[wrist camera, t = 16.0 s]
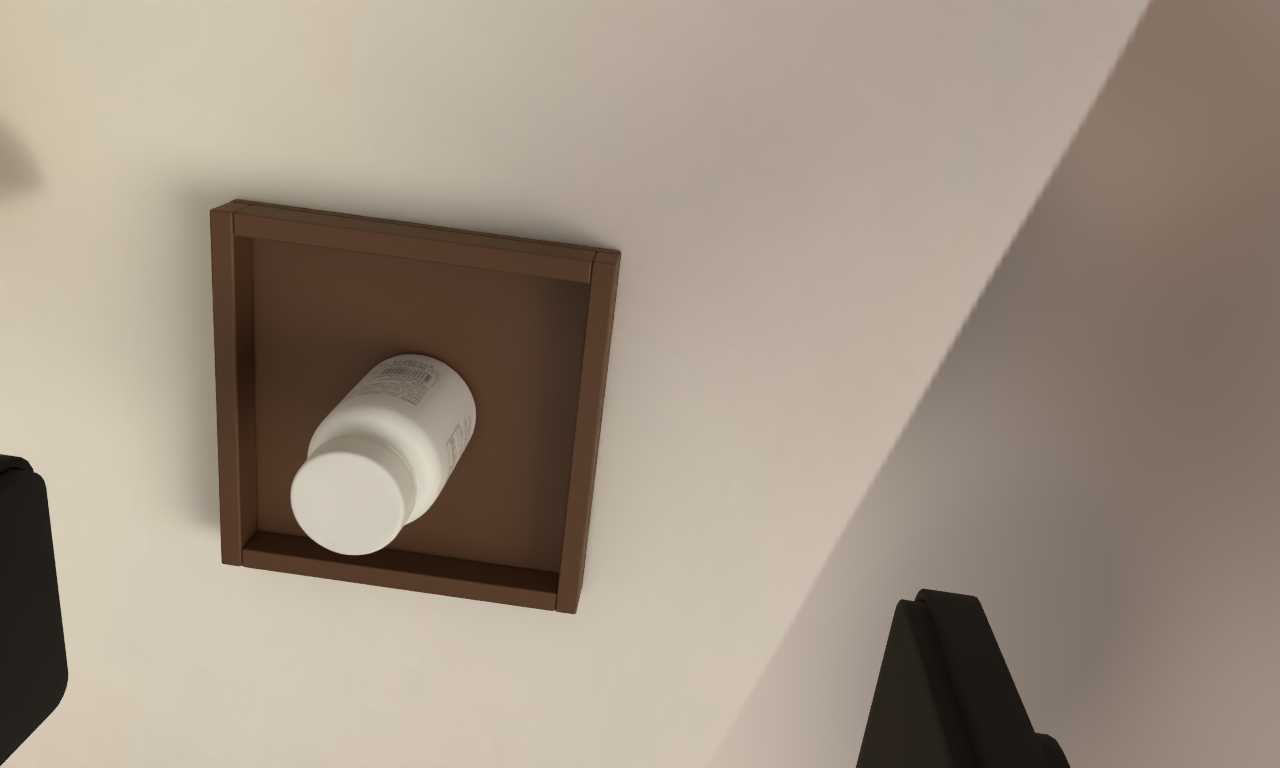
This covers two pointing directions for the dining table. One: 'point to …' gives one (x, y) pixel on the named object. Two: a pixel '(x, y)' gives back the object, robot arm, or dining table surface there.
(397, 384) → the pill bottle
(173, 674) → the dining table surface
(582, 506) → the tray
